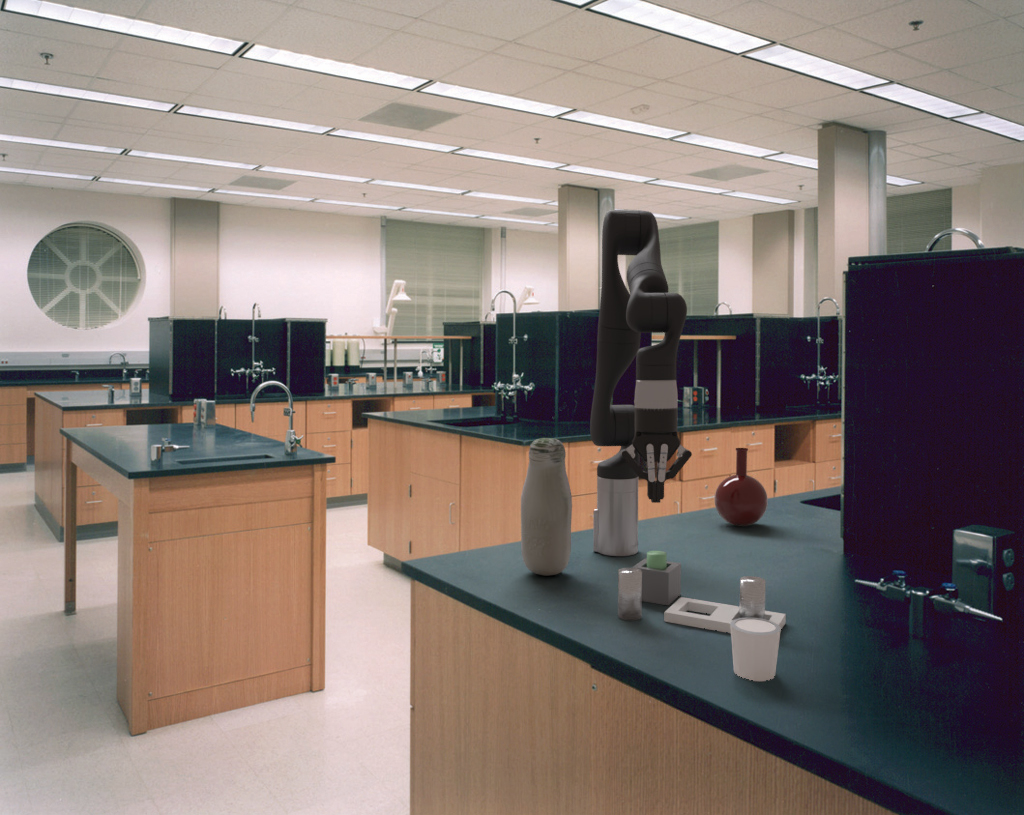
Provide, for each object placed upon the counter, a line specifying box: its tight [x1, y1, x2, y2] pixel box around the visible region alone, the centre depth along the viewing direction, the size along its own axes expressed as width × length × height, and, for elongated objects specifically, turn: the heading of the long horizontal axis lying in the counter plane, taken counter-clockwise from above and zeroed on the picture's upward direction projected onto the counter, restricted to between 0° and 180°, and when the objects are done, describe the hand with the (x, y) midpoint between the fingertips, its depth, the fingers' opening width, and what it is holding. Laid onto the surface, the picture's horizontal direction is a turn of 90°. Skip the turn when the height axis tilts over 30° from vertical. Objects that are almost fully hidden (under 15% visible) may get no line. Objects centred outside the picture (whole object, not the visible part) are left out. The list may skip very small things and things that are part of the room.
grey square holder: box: [631, 557, 682, 606], centre depth 144 cm, size 7×7×6 cm
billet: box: [617, 567, 643, 621], centre depth 134 cm, size 4×4×8 cm
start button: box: [646, 550, 668, 570], centre depth 144 cm, size 4×4×6 cm
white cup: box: [730, 618, 782, 682], centre depth 111 cm, size 7×7×7 cm
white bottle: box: [520, 437, 573, 577], centre depth 158 cm, size 10×10×28 cm
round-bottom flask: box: [714, 447, 769, 527], centre depth 200 cm, size 13×13×20 cm
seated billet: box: [739, 575, 766, 619], centre depth 128 cm, size 4×4×8 cm
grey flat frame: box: [663, 596, 787, 634], centre depth 131 cm, size 18×9×2 cm, turn 60°
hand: (655, 501), depth 139 cm, fingers closed
